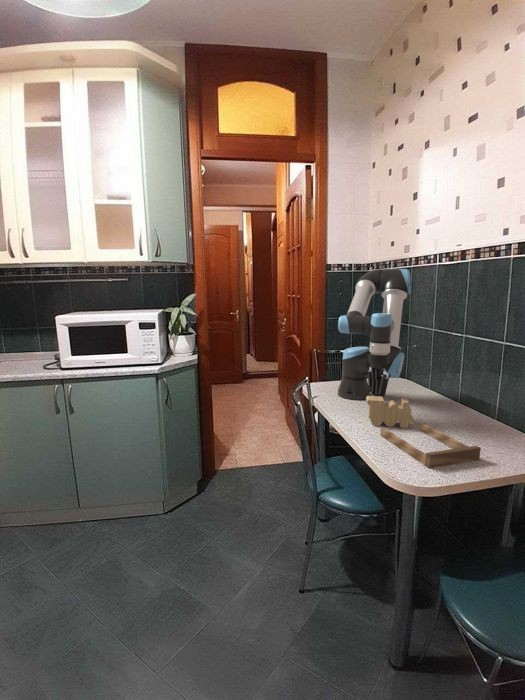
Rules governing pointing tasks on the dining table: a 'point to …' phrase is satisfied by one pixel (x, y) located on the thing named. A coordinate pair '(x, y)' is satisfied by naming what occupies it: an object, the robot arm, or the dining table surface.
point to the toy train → (389, 412)
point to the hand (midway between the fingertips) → (375, 411)
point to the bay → (438, 458)
